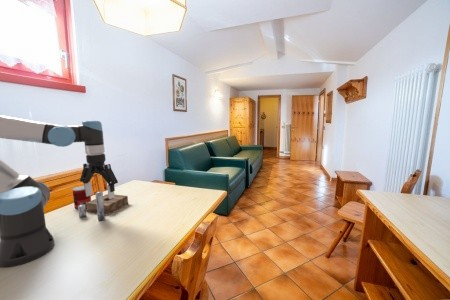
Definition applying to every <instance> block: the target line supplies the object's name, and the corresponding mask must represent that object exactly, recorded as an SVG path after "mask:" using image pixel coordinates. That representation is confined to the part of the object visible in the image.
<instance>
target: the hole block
mask: <svg viewBox="0 0 450 300" xmlns="http://www.w3.org/2000/svg"><path fill="white" fill-rule="evenodd" d="M114 196H115V197H114V198H111V199H109V197H108V193H107V194H103V201H104V212H105V216H107V215H111V214H113V213H115V212H116V211H118V210H120V209H121V208H123V207H125V206H127V205H129V200H128V198H129V197H128V195H123V194H115V193H114ZM86 204H87V207H86V213H87V212H88V213H95V214H97V205H96V198H94V199H93V200H92V199H91V201H90V202H87V203H86Z"/></svg>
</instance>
